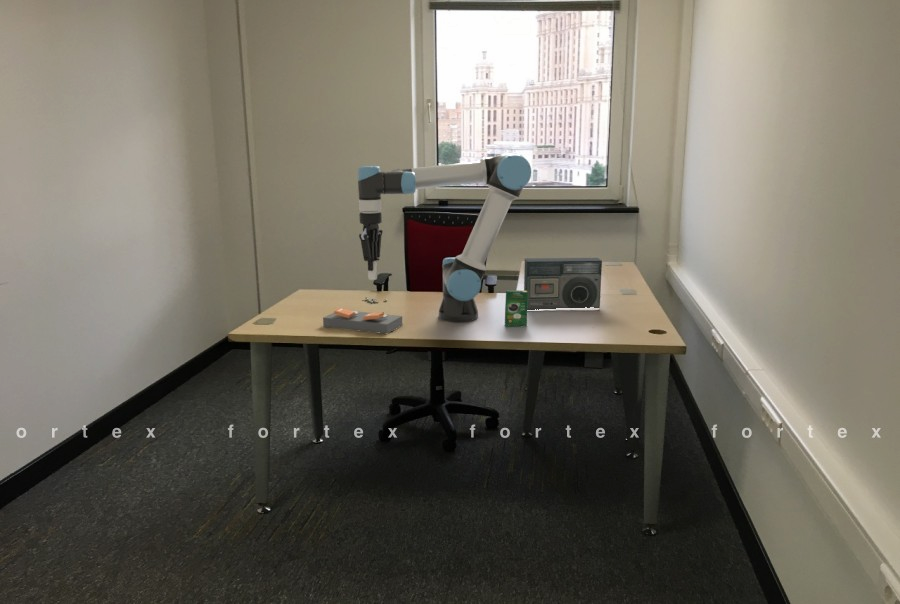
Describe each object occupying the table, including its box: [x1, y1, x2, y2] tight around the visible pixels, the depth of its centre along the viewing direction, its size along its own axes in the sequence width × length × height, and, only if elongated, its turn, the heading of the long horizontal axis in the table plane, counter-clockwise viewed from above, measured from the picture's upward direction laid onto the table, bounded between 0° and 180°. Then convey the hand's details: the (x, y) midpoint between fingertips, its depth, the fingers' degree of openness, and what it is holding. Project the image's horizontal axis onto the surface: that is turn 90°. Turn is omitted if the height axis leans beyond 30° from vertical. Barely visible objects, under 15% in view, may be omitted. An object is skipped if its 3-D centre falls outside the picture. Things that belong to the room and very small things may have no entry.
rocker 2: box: [363, 312, 385, 320], centre depth 239 cm, size 6×4×1 cm
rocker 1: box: [333, 307, 355, 318], centre depth 243 cm, size 6×4×1 cm
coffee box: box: [504, 289, 528, 327], centre depth 242 cm, size 8×3×13 cm, turn 89°
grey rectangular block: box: [322, 310, 403, 334], centre depth 244 cm, size 26×12×4 cm, turn 68°
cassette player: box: [523, 257, 603, 310], centre depth 265 cm, size 29×7×20 cm, turn 91°
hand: (372, 279), depth 235 cm, fingers closed
